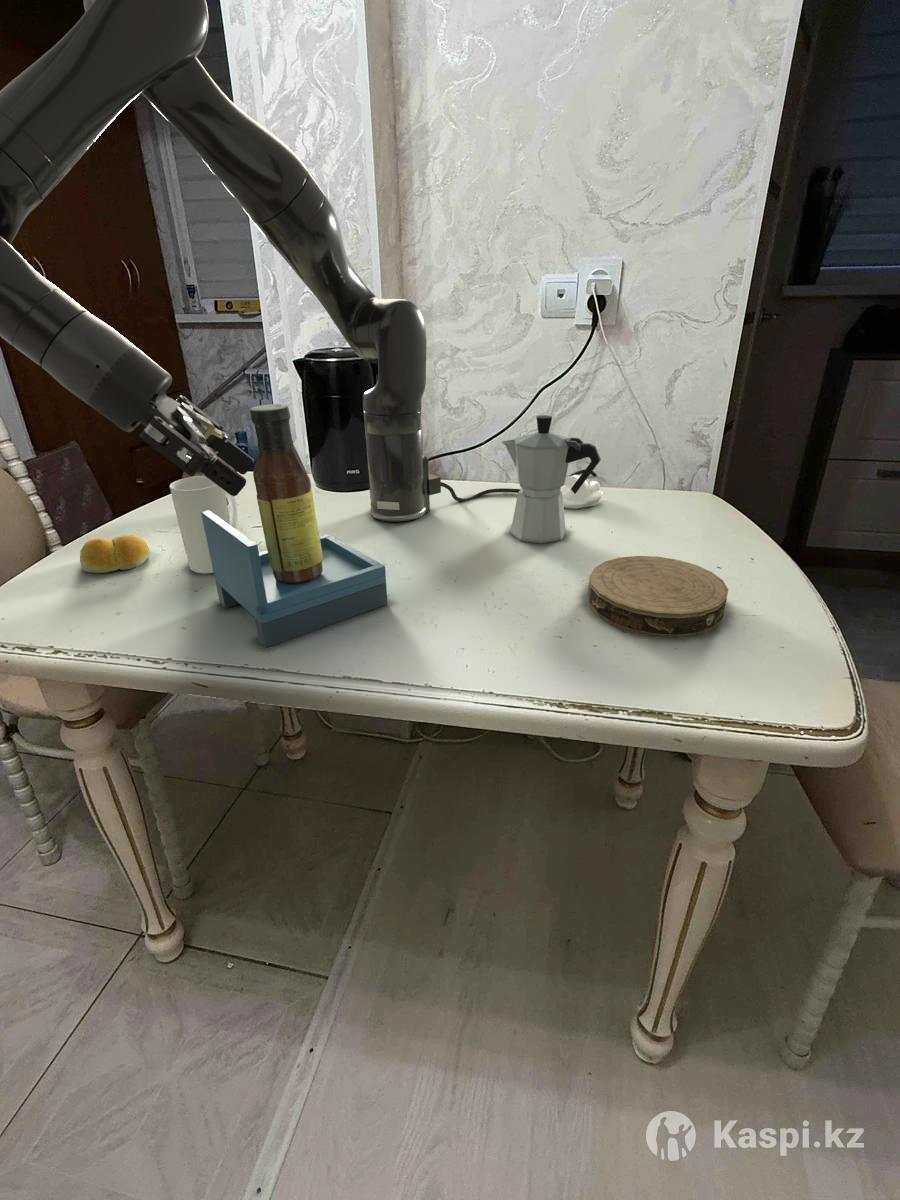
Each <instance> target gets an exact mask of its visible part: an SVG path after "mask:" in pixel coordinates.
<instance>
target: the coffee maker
mask: <svg viewBox="0 0 900 1200" xmlns="http://www.w3.org/2000/svg"><path fill="white" fill-rule="evenodd" d="M552 420H553V416H552V415H547V414H544V415H543V414H541V415H540V414H539V415H536V426H537V432H534V433H529V434H526V435H523V436H519V437H515V438H513V439H508V440H503V441H501V442H500V443H501V444H502V445H504V446H505V448H506V449H507V451H508V454H509V456H510V458H511V460H512V462H513V464H514V466H515V471H516V476H517V477H516V478H517V482H518V484H519V487H520V488H519V489H520V491H519V492H518V493H517V497H516V502H515V505H514V512H513V517H512V522H511V528H510V532H509V534H510V535H512V536H513V537H515V538H516V539H517V540H519V541H520V542H528V543H533V544H534V543H535V544H546V543H552V542H558V541H562V539H563V538H564V536H565V535H566V533H567V530H566V529H567V528H566V518H565V507H563V496H562V492H561V491H560V489H561V487H562V486H563V485H564V483H565V478H566V476H567V473H568V468H569V464H570V463H573V462H577V461H580V460H583V459H586V458H589V459H590V463H589V464H588V465H587V467H586V468H585V469H584V470H585V471H584V472H583V473H582V474H580V475H581V476H580V477H579V479H578V480H577V481H576V483H575V484H574V485H573V487H572V488H571V490H572V491H573V492H574V494H576V492H577V491H578V490H579V488H580V487H581V486H582V484H583V483H584V482H585V480H586V479H587V478H588V479H589V477H590V475H592V474H591V472H592V471H593V472H594V470H595V468H596V467H597V466H598V464H599V463H600V462H601V461H602V460H601V459H602V458H601V457H600V456H601V455H600V454H599V451H598V448H597V447H596V445H594V444H592V443H590V442H585V443H584V441H582V439H581V438H580V437H567V436H564V435H561V434H556V433H554V432H550V429H551V425H552Z"/></svg>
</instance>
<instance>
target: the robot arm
mask: <svg viewBox="0 0 900 1200" xmlns="http://www.w3.org/2000/svg"><path fill="white" fill-rule="evenodd" d="M83 8H84V14H83V15H82V16H81V17H80V19H78V20H77V22H76V23H75V24H74V25H73V27H72V28H70V29H69V30H68V32H67V33H66V34H65V35H64V36H63V37H62V38H61V39H60V40H59V41H57V43H56V44H54V45H53V46H52V47H51V48H50V49H48V50H47V51H46V52H45V53H44V54H42V55H41V56H40V57H39V58H38V59H36V60H35V62H33V63H31V65H29V66H28V67H27V68H26V69H25V70H23V71H22V72H21V73H20V74H18V75H17V76H16V77H15V78H14V79H12V80H11V81H10V82H9V83H8V84H6V85H5V86H4V87H3V88H1V89H0V337H1V339H3V340H4V341H5V342H7V344H9V345H11V346H12V347H13V348H14V349H16V350H17V351H19V352H20V353H22V354H23V355H24V356H26V357H27V358H29V359H30V360H31V361H32V362H33V363H34V364H36V365H38V366H39V367H41V368H42V369H43V370H44V371H46V372H47V373H48V374H49V375H50V376H51V377H52V378H53V379H55V381H57V382H58V383H59V384H60V385H61V386H62V387H64V389H66V390H68V391H69V392H70V393H71V394H73V395H74V396H76V397H77V398H78V399H79V400H81V401H83V402H84V403H85V404H86V405H88V406H89V407H91V408H92V409H93V410H94V411H96V412H97V413H98V414H100V415H101V416H102V417H104V418H105V419H107V420H108V421H110V422H111V423H112V424H114V425H115V426H116V427H118V428H119V429H120V430H122V431H123V432H127V433H131V432H133V431H134V430H136V429H137V427H138V426H140V424H142V425H143V426H144V428H143V430H142V431H141V432H140V434H138V437H139V438H140V439H141V440H142V441H143V442H145V443H146V444H147V445H149V446H150V447H151V448H153V449H154V450H155V451H157V452H158V453H159V454H161V455H162V456H163V457H164V458H165V459H167V460H169V462H170V463H172V464H173V465H175V466H176V467H178V468H179V469H180V470H181V471H183V473H184V472H185V473H186V474H188V475H190V476H194V475H195V474H198V475H200V476H202V475H203V474H204V476H206V477H207V478H208V479H210V480H211V481H212V482H214V483H215V484H216V485H218V486H219V487H221V488H222V489H223V490H225V491H226V492H227V493H229V494H230V495H231V496H234V497H236V496H238V495H239V493H240V492H241V491H242V490H243V489H244V487H246V484H247V479H246V478H245V477H244V476H243V475H245V474H247V473H248V472H249V470H250V469H251V468H252V466H253V465H254V464H255V463H254V462H255V460H254V457H251V455H249V454H248V453H247V452H245V451H244V450H243V449H241V448H240V447H239V446H238V445H237V444H235V443H234V442H232V441H231V440H230V439H229V436H228V435H227V433H226V428H225V427H224V426H223V425H221V424H220V423H219V422H217V421H216V420H214V419H213V418H212V417H211V416H210V415H208V414H207V413H206V412H204V411H203V410H202V409H200V408H199V407H198V406H197V405H195V403H193V402H191V401H190V400H189V399H188V398H187V397H186V396H183V395H181V394H180V395H179V396H178V397H177V399H176V400H175V399H173V398H172V397H170V396H168V395H167V394H166V393H167V390H168V389H169V388H170V386H171V384H172V382H173V377H172V375H171V374H170V373H169V372H168V371H166V370H165V369H164V368H163V367H162V366H160V365H159V364H158V363H157V362H155V361H154V360H153V359H152V358H150V357H149V356H148V355H147V354H145V353H144V352H143V351H142V350H141V349H140V348H138V347H136V345H134V344H133V343H132V342H130V341H129V340H128V339H127V338H126V337H124V336H123V335H122V334H120V332H118V331H117V330H115V328H113V327H111V326H110V325H108V324H107V323H106V322H104V321H103V320H101V319H99V318H98V317H96V316H95V315H94V314H91V313H90V312H89V311H88V310H87V309H85V308H84V307H83V306H81V305H80V304H79V303H78V302H76V301H75V300H74V299H73V298H71V297H70V296H69V295H68V294H67V293H65V292H64V291H63V290H61V289H60V288H59V287H57V285H55V284H53V283H52V282H50V281H49V280H48V279H46V278H45V277H44V276H42V275H41V274H40V273H39V272H38V271H37V270H36V269H35V268H34V267H33V266H32V265H31V264H30V263H28V262H27V260H26V259H24V258H23V256H22V255H21V254H20V253H19V252H18V251H17V250H16V249H15V248H14V247H13V246H12V243H13V241H14V240H15V237H16V236H17V235H18V233H19V231H20V228H21V227H22V225H23V223H24V222H25V220H26V219H27V217H28V216H29V215H30V214H31V212H33V211H34V210H35V209H36V208H37V207H38V206H40V205H41V203H42V202H44V200H45V199H46V197H47V196H48V195H50V193H52V191H53V190H54V189H55V188H56V187H57V186H58V185H59V184H60V182H61V181H62V180H63V179H64V178H65V177H66V176H67V174H68V173H69V172H70V171H71V170H72V169H73V168H74V166H75V165H76V164H77V163H78V162H79V161H80V159H81V158H82V156H84V155H85V153H86V152H87V151H88V150H89V148H90V147H91V146H92V145H93V144H94V143H95V142H96V140H97V139H98V138H99V136H101V134H102V133H103V132H104V131H105V129H107V127H108V126H110V124H111V123H112V122H113V121H114V120H115V119H116V117H117V116H118V115H119V114H120V113H122V111H123V110H124V109H125V108H126V107H127V106H128V105H129V104H130V103H131V102H132V101H133V100H135V99H136V98H137V97H138V96H139V95H140V94H141V95H142V96H143V97H144V98H146V100H147V101H148V102H149V103H150V104H151V105H152V106H153V107H154V108H155V109H156V110H157V111H158V112H159V113H160V114H161V115H162V117H164V118H165V120H167V121H168V122H169V123H170V124H171V125H172V127H174V129H175V130H176V131H177V132H178V133H179V134H180V135H181V136H182V137H183V138H184V140H185V141H186V142H187V143H188V144H189V145H190V146H191V148H192V149H193V150H194V152H195V153H197V155H198V156H199V158H200V159H201V160H202V161H203V162H204V164H205V165H206V166H207V167H208V168H209V170H210V171H211V172H212V174H213V175H214V176H215V177H216V178H217V179H218V180H219V182H220V183H221V184H222V185H223V186H224V188H225V189H226V190H227V192H229V193H230V195H231V196H232V197H233V198H234V200H235V201H236V202H237V203H238V204H239V206H240V207H241V209H243V211H244V213H246V215H247V216H248V217H249V219H250V220H251V222H252V223H254V225H255V227H257V229H258V230H259V231H260V232H261V233H262V235H263V236H264V237H265V238H266V240H267V241H268V243H270V245H271V246H272V247H273V248H274V249H275V250H276V251H277V252H278V254H279V255H280V256H281V257H282V258H283V260H284V261H285V262H286V263H287V264H288V265H289V266H290V268H291V269H292V270H293V271H294V272H295V274H296V275H297V277H299V279H300V280H301V281H302V282H303V284H305V285H306V287H307V288H308V289H309V290H310V292H312V294H313V295H314V296H315V298H316V299H317V300H318V301H319V303H320V304H321V305H322V307H323V308H324V310H325V311H326V312H327V314H328V316H329V317H330V319H331V320H332V322H333V323H334V325H335V326H336V328H337V329H338V331H339V332H340V334H341V336H342V337H343V338H344V340H345V341H346V343H347V344H348V345H349V347H350V348H351V350H353V352H354V354H356V355H357V356H358V357H360V358H361V359H362V360H364V361H366V362H368V363H372V364H377V381H376V384H375V385H374V386H373V387H371V388H369V389H367V390H365V392H364V393H363V395H362V408H363V421H364V433H365V445H366V460H367V473H368V486H369V499H370V516H371V517H372V518H374V519H376V520H379V521H383V522H389V523H390V522H392V523H398V522H408V521H413V520H416V519H420V518H422V517H423V516H425V514H426V513H428V512H431V498H430V497H431V496H433V495H437V494H441V493H442V488H445V489H447V490H448V491H449V493H450V495H451V496H452V499H453V500H455V501H456V502H459V503H464V502H468V501H471V500H474V499H477V498H480V497H482V496H485V495H488V494H493V493H514V494H515V493H517V494H518V492H519V491H520V489H521V488H507V487H506V488H505V487H503V488H499V487H497V488H489V489H485V490H483V491H480V492H478V493H476V494H475V495H472V496H470V497H467V498H466V497H465V498H463V497H459V496H457V494H456V492H455V490H454V489H453V487H452V486H450V485H449V484H447V483H446V482H442V481H441V479H442V478H441V476H438V475H435V474H433V473H430V468H429V467H430V465H429V463H430V462H429V457H428V456H427V455H425V454H424V440H423V439H424V438H423V437H424V436H423V414H422V409H423V408H422V406H423V405H422V402H423V397H424V394H425V390H426V387H427V385H426V384H427V330H426V329H427V328H426V324H425V319H424V316H423V313H422V312H421V310H420V309H419V307H418V306H417V305H416V304H415V303H413V301H411V300H408V299H405V298H383V297H378V296H377V295H376V294H374V292H373V291H371V289H370V288H369V287H368V286H367V285H366V284H365V282H364V281H363V280H362V278H361V277H360V276H359V274H358V273H357V271H355V269H354V267H353V265H352V264H351V262H350V260H349V258H348V256H347V252H346V248H345V246H344V245H345V244H344V240H343V236H342V231H341V228H340V224H339V220H338V217H337V214H336V212H335V209H334V207H333V205H332V203H331V202H330V200H329V198H328V197H327V195H326V194H325V193H324V191H323V189H322V188H321V186H320V185H319V184H318V182H317V181H316V179H315V178H314V177H313V175H312V174H311V172H310V171H309V169H308V168H307V167H306V165H305V164H304V162H303V161H302V160H301V159H300V158H299V157H298V156H297V154H295V152H294V151H293V150H292V149H291V148H290V147H289V146H288V145H286V144H285V143H284V142H283V141H282V140H280V139H279V137H277V136H275V135H274V134H273V133H272V132H271V131H269V130H268V129H267V128H265V127H264V126H263V125H262V124H260V123H259V122H257V121H256V120H255V119H253V118H252V117H250V116H249V115H248V114H247V113H246V112H244V111H243V110H242V109H241V108H240V107H238V105H236V104H235V103H234V102H233V101H232V100H230V98H229V97H228V96H227V95H226V93H224V92H223V91H222V90H221V88H220V86H218V84H217V83H216V82H215V81H214V79H213V78H212V77H211V75H210V74H209V72H207V70H206V69H205V67H204V66H203V64H202V63H201V61H200V60H199V59H198V56H199V54H200V53H201V51H202V49H203V48H204V45H205V43H206V40H207V35H208V31H209V11H208V5H207V1H206V0H83ZM216 456H218V457H219V458H220V459H222V460H223V461H224V462H226V463H227V464H228V465H230V466H231V467H232V468H233V469H234V470H233V469H232V468H231V467H230V466H228V465H227V464H226V463H224V462H223V461H222V460H220V459H219V458H217V457H216ZM216 458H217V459H216ZM215 459H216V460H215ZM584 471H585V469H581V470H578V471H575V472H572V473H571V474H569V475H566V477H568V476H573V475H582V473H583V472H584ZM590 475H591V476H593V477H598V474H597V473H596V472H595V471H594V470H593V471H592V472H591V474H590Z"/></svg>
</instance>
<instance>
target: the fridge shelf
mask: <svg viewBox="0 0 900 1200" xmlns="http://www.w3.org/2000/svg"><path fill="white" fill-rule="evenodd" d="M201 515H202V520H203V524H204V529H205V534H206V539H207V544H208V548H209V553H210V558H211V563H212V568H213V573H212V574H213V576H214V581H215V587H216V591H217V596H218V601H219V603H220V605H221V606H222V607H223V608H225V609H228V608H232V607H235V606H238V605H240V606H242V607H243V608H244V609H245V610H246V611H247V612H248V613H249V614H250V615H252V616H253V617H254V623H255V627H256V632H257V638H258V641H259V642H260V643H261V644H262V646H263V647H265V648H269V647H272V646H275V645H277V644H278V645H279V644H281V643H283V642H286V641H289V640H291V639H294V638H298V637H300V636H304V635H306V634H309V633H311V632H314V631H317V630H319V629H322V628H325V627H328V626H331V625H334V624H337V623H339V622H342V621H345V620H347V619H350V618H353V617H356V616H359V615H361V614H364V613H368V612H369V611H374V610H376V609H378V608H381V607H383V606H386V605H388V604H389V603H388V589H387V576H386V566H385V565H384V564H382V563H380V562H378V561H377V560H375V559H374V558H372V557H370V556H368V555H366V554H365V553H363V552H361V551H359V550H357V549H355V548H354V547H352V546H351V545H348V544H347V543H345V542H344V541H342V540H340V539H338V538H337V537H335V536H333V535H332V534H330V533H326V534H323V535H319V536H320V542H321V549H322V555H323V559H322V565H323V572H322V573H321V574H320V575H319V576H318V577H316V578H315V579H313V580H310V581H307V582H303V583H285V582H282V581H279V580H277V579H275V577H274V575H273V569H272V568H271V566H270V561H269V556H268V551H267V550H263V551H260V552H259V545H258V543H256V542H254V540H252V539H250V537H248V536H246V535H245V534H244V533H242V532H241V531H239V530H238V529H237V528H236V529H235V528H234V527H232V526H231V525H229V524H228V523H227V522H225V521H224V520H222V519H221V518H220V517H218V516H217V515H215V514H214V513H212V512H211V511H210V510H207V511H203V512H201Z"/></svg>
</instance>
